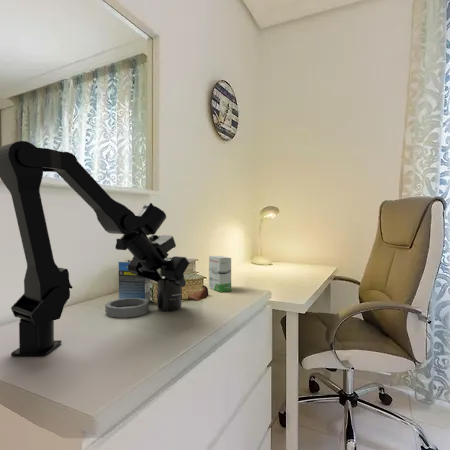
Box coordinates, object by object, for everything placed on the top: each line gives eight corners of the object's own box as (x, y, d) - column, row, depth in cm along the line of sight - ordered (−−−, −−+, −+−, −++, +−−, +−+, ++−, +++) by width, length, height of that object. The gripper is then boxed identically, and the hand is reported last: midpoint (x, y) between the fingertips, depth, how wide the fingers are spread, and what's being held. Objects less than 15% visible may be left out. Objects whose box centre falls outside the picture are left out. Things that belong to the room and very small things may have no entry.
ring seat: (142, 317, 85) (142, 308, 85) (99, 317, 85) (99, 308, 84) (152, 306, 96) (152, 297, 96) (113, 306, 96) (113, 298, 96)
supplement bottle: (177, 312, 89) (177, 268, 89) (153, 311, 90) (153, 267, 90) (184, 306, 96) (184, 264, 96) (162, 304, 97) (162, 264, 97)
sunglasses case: (147, 297, 106) (152, 277, 109) (156, 303, 112) (160, 284, 115) (200, 301, 102) (204, 280, 105) (206, 307, 107) (209, 287, 111)
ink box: (232, 291, 116) (232, 257, 116) (219, 292, 113) (219, 258, 113) (219, 286, 123) (219, 254, 123) (208, 288, 121) (208, 255, 121)
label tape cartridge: (150, 301, 102) (150, 261, 102) (144, 304, 98) (144, 262, 98) (125, 299, 104) (124, 260, 104) (118, 302, 100) (117, 261, 100)
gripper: (184, 226, 84) (211, 264, 93) (136, 225, 95) (164, 259, 104) (161, 260, 78) (192, 297, 87) (112, 255, 89) (145, 288, 98)
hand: (173, 283), depth 94 cm, fingers open, 9 cm apart
